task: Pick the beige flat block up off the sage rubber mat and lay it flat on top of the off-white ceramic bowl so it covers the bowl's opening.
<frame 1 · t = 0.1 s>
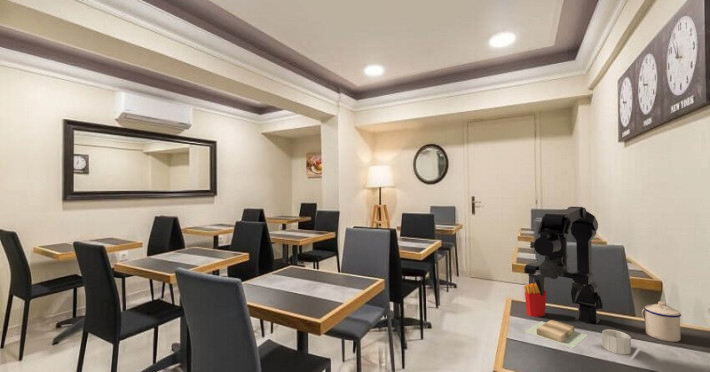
hand: (557, 299, 105), 14 cm above the table, tool pointing down, fingers open, 9 cm apart
beige flat block: (555, 333, 111), point 1 cm above the table, touching mat
bowl: (616, 350, 100), on the table
mat: (555, 335, 111), on the table
french fries: (535, 316, 128), on the table
teacup with lid: (658, 334, 111), on the table
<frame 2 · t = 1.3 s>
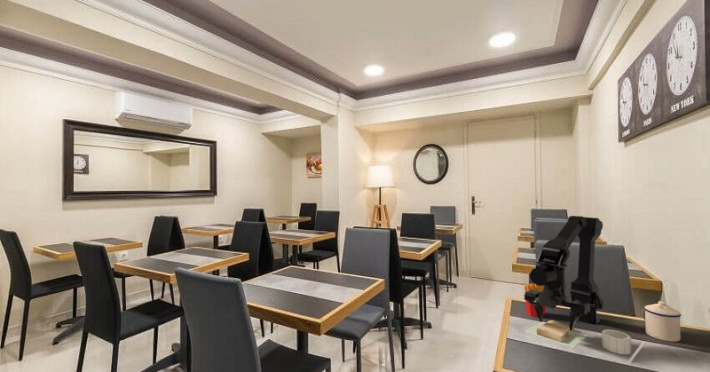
hand: (555, 326, 111), 3 cm above the table, tool pointing down, fingers open, 9 cm apart
nothing on the table moved.
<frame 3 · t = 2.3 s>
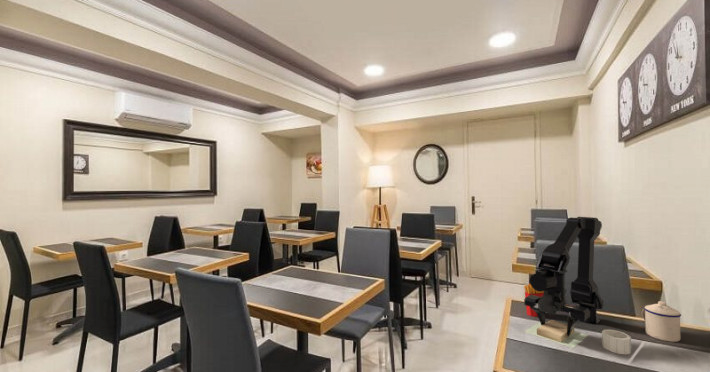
hand: (555, 331, 111), 1 cm above the table, tool pointing down, fingers closed on beige flat block, 7 cm apart
beige flat block: (555, 333, 111), point 1 cm above the table, touching gripper, mat
everything else where it was.
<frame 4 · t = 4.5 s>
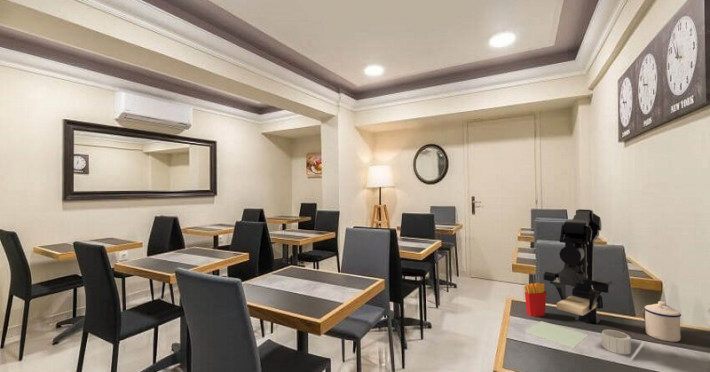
hand: (576, 306, 107), 11 cm above the table, tool pointing down, fingers closed on beige flat block, 7 cm apart
beige flat block: (576, 308, 107), point 11 cm above the table, touching gripper
everything else where it was.
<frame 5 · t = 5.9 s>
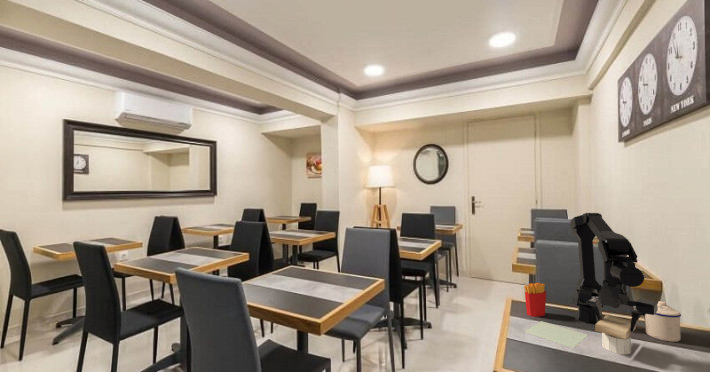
hand: (615, 327, 100), 7 cm above the table, tool pointing down, fingers closed on beige flat block, 7 cm apart
beige flat block: (615, 329, 100), point 7 cm above the table, touching gripper
everything else where it was.
when the fingers open (7 cm above the table, at t = 6.9 s): beige flat block drops 1 cm, resting on bowl.
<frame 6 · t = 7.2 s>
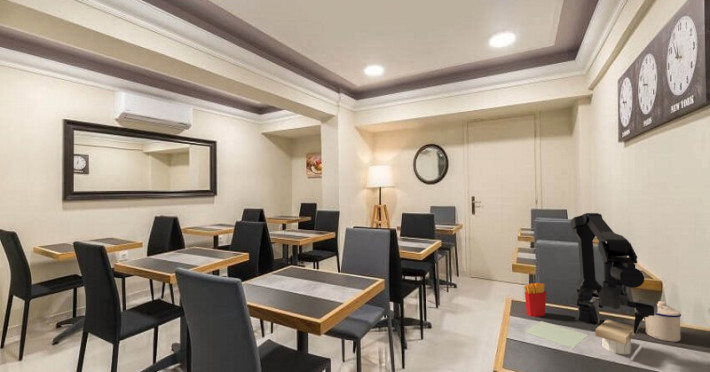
hand: (615, 328, 100), 7 cm above the table, tool pointing down, fingers open, 9 cm apart
beige flat block: (615, 334, 100), point 5 cm above the table, touching bowl
everything else where it was.
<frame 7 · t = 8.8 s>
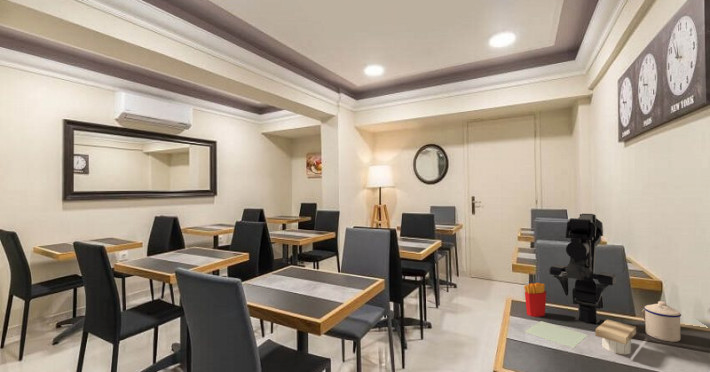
hand: (581, 298, 112), 12 cm above the table, tool pointing down, fingers open, 9 cm apart
nothing on the table moved.
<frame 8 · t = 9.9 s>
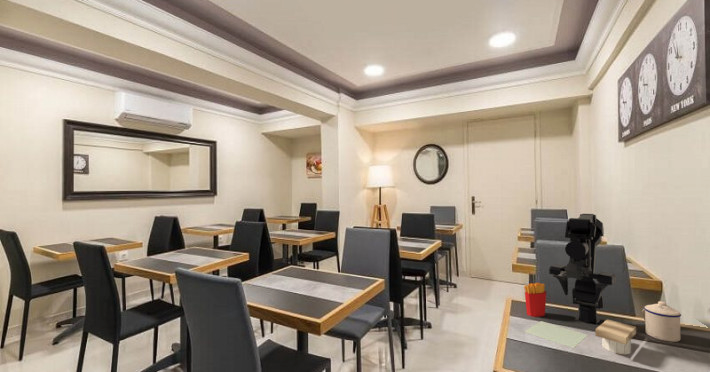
hand: (581, 298, 113), 12 cm above the table, tool pointing down, fingers open, 9 cm apart
nothing on the table moved.
at the end: beige flat block 0.1 cm from the bowl (horizontally); beige flat block point 5.0 cm above the table; the gripper is holding nothing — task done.
